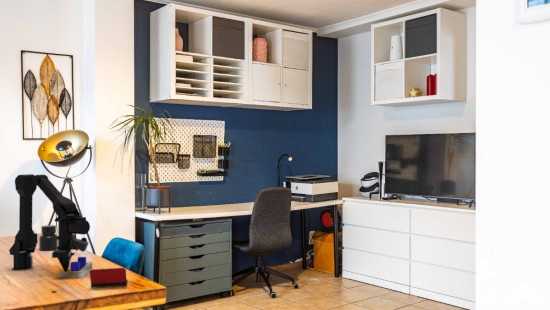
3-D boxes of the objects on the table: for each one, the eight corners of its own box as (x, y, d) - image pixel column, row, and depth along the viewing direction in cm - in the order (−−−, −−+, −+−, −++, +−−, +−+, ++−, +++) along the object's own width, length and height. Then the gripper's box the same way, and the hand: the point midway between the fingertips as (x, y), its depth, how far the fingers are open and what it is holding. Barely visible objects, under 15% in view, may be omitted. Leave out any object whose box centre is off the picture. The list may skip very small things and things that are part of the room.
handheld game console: (128, 281, 210) (127, 262, 210) (125, 288, 199) (125, 267, 199) (93, 283, 208) (93, 263, 208) (89, 290, 197) (89, 269, 197)
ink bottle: (62, 249, 282) (62, 225, 282) (47, 251, 275) (47, 227, 275) (50, 247, 288) (50, 224, 288) (35, 250, 280) (35, 226, 280)
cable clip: (75, 271, 229) (74, 256, 229) (86, 271, 229) (86, 256, 229) (66, 277, 217) (66, 262, 217) (78, 277, 217) (78, 262, 217)
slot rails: (59, 279, 214) (59, 272, 214) (71, 268, 233) (71, 262, 233) (82, 278, 215) (82, 271, 215) (92, 268, 234) (92, 262, 234)
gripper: (81, 236, 215) (81, 276, 216) (91, 229, 234) (91, 266, 234) (51, 236, 214) (51, 277, 214) (63, 229, 233) (63, 267, 233)
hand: (66, 271), depth 224 cm, fingers closed
